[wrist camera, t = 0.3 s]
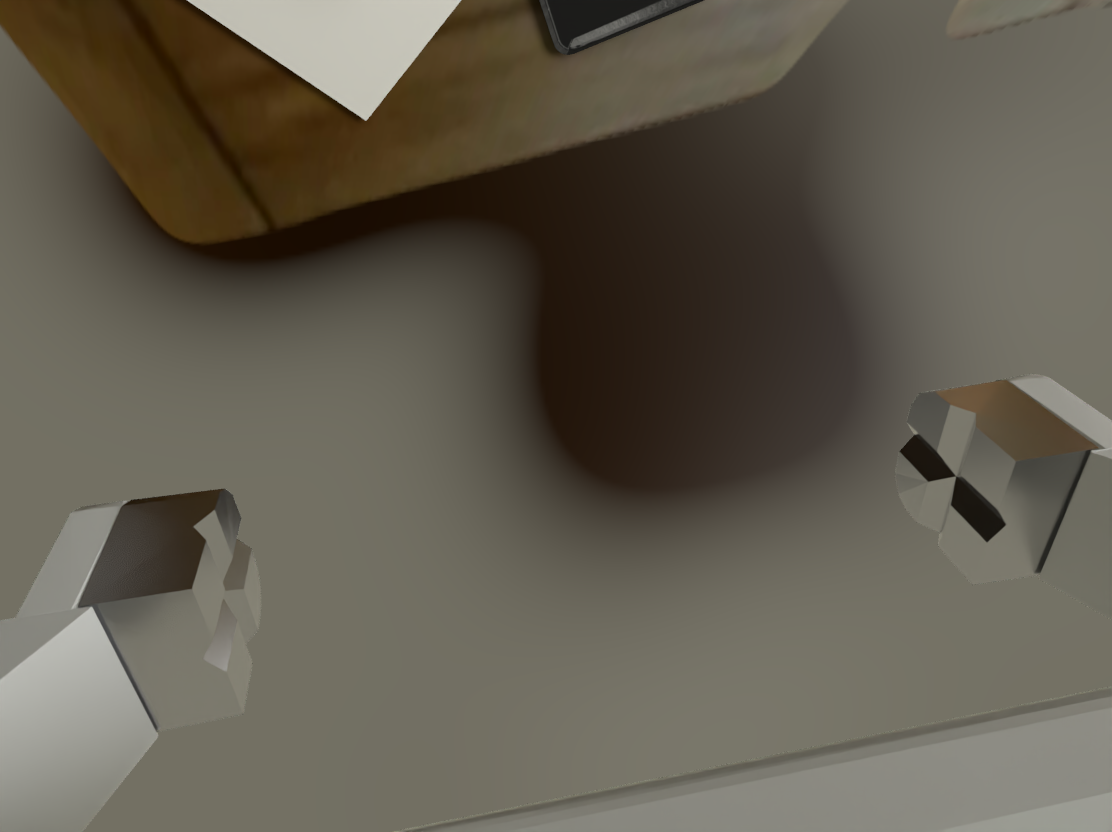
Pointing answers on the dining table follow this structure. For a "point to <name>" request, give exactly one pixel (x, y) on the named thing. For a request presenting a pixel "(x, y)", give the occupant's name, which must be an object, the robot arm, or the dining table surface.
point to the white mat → (337, 40)
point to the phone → (601, 19)
